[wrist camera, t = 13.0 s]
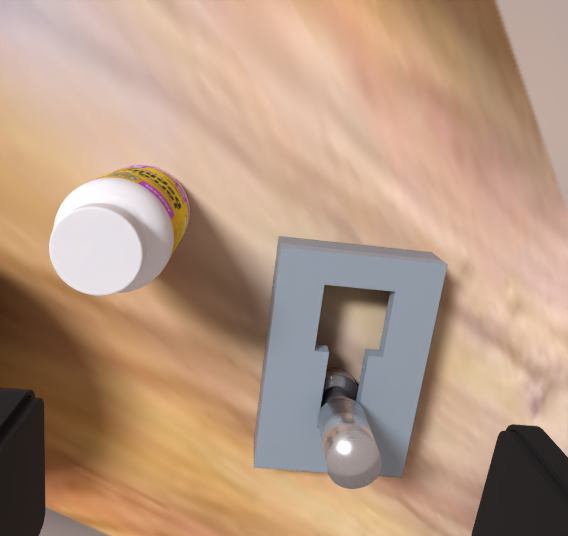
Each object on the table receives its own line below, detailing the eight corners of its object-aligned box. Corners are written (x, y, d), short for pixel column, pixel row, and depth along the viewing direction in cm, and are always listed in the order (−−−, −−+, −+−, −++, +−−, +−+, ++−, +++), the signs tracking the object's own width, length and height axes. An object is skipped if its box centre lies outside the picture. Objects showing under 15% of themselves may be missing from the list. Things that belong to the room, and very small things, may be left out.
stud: (312, 365, 43) (329, 436, 34) (359, 369, 44) (389, 441, 34) (305, 408, 45) (320, 489, 35) (352, 412, 45) (379, 492, 35)
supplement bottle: (207, 194, 39) (187, 232, 27) (164, 268, 40) (126, 337, 28) (125, 144, 38) (64, 161, 25) (83, 223, 39) (6, 275, 27)
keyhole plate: (278, 236, 40) (281, 247, 37) (432, 252, 41) (447, 264, 38) (253, 442, 45) (254, 467, 42) (391, 451, 46) (401, 477, 43)
